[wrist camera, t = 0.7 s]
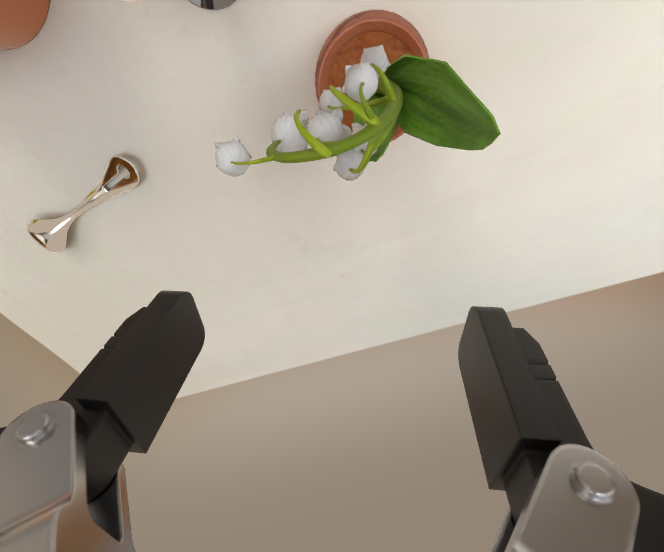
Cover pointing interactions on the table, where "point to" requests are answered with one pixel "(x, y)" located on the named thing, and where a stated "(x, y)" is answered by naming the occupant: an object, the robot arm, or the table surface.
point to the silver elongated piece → (82, 206)
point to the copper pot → (21, 21)
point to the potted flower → (373, 101)
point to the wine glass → (207, 3)
